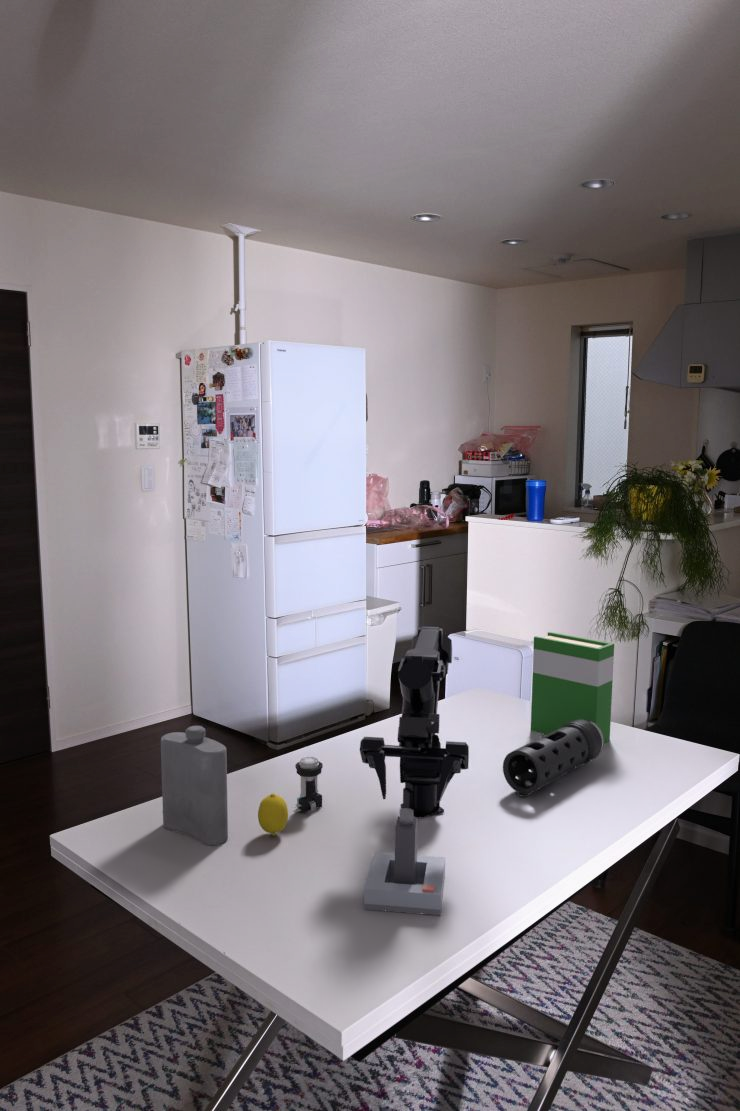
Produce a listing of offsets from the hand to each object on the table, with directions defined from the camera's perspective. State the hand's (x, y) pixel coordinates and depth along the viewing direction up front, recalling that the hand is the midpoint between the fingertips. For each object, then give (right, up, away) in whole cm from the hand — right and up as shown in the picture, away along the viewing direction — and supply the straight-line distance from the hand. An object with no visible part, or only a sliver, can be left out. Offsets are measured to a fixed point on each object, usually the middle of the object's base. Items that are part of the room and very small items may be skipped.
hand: (410, 800), depth 148 cm
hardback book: (+42, -3, +68) cm, 80 cm away
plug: (-1, -12, -6) cm, 14 cm away
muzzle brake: (+33, -7, +42) cm, 54 cm away
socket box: (-1, -13, -6) cm, 15 cm away
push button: (-19, -9, +25) cm, 33 cm away
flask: (-39, -10, +15) cm, 43 cm away
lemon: (-25, -11, +14) cm, 31 cm away
